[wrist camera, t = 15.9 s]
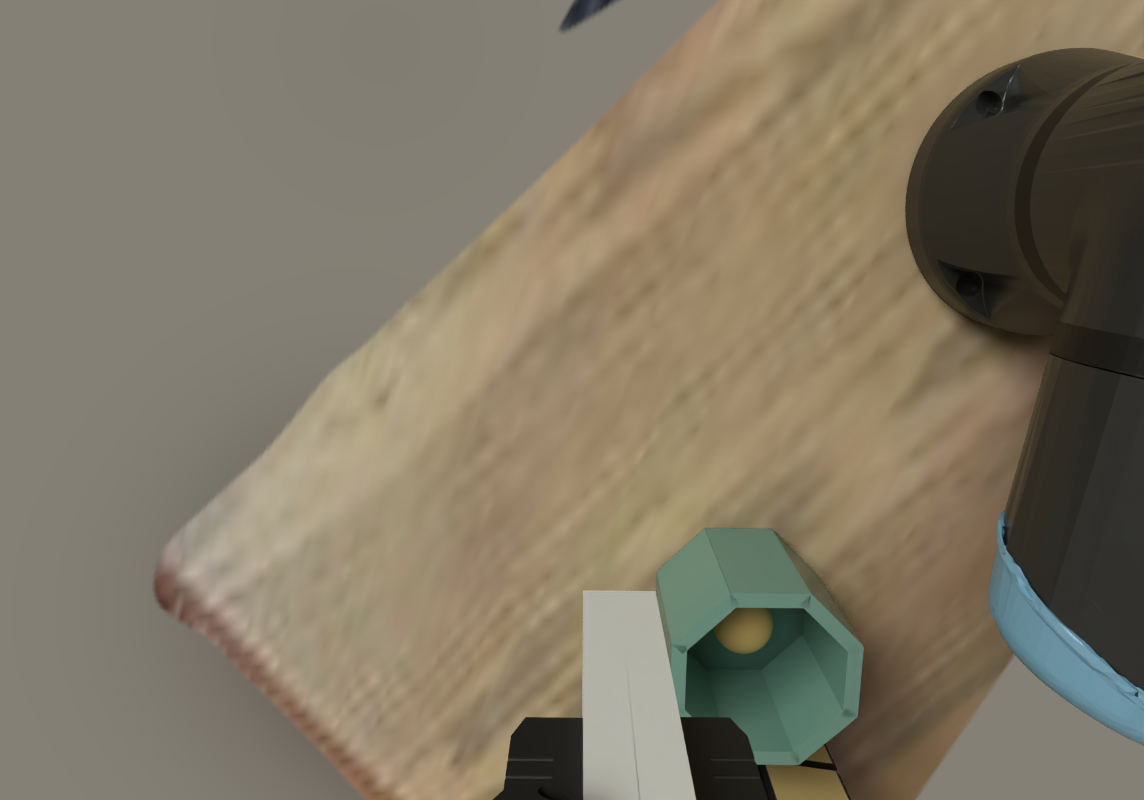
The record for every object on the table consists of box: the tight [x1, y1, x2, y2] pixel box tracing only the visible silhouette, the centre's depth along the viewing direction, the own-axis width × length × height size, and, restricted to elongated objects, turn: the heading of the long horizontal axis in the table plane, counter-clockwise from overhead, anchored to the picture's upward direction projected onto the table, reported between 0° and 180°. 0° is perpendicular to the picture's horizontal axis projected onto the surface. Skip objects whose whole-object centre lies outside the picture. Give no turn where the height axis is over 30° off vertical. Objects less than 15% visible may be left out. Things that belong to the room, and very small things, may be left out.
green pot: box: [656, 528, 864, 765], centre depth 47 cm, size 10×10×9 cm
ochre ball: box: [713, 608, 773, 654], centre depth 49 cm, size 4×4×4 cm
